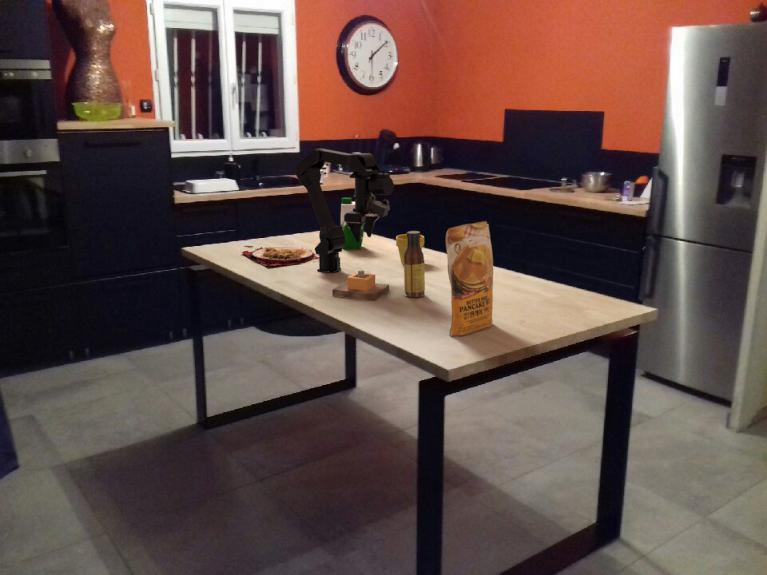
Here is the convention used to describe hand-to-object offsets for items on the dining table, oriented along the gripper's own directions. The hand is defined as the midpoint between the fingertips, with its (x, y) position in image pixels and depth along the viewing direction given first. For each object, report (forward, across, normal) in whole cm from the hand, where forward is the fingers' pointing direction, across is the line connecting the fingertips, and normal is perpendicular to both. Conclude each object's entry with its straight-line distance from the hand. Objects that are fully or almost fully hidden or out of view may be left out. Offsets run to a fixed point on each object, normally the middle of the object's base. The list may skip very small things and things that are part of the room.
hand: (363, 239), depth 232 cm
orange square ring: (+11, -18, -7) cm, 22 cm away
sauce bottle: (+13, -14, -23) cm, 30 cm away
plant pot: (+13, +26, -7) cm, 30 cm away
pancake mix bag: (+13, -38, -47) cm, 62 cm away
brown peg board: (+13, -18, -7) cm, 23 cm away
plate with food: (+14, +16, +40) cm, 45 cm away
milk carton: (+13, +41, +23) cm, 49 cm away
